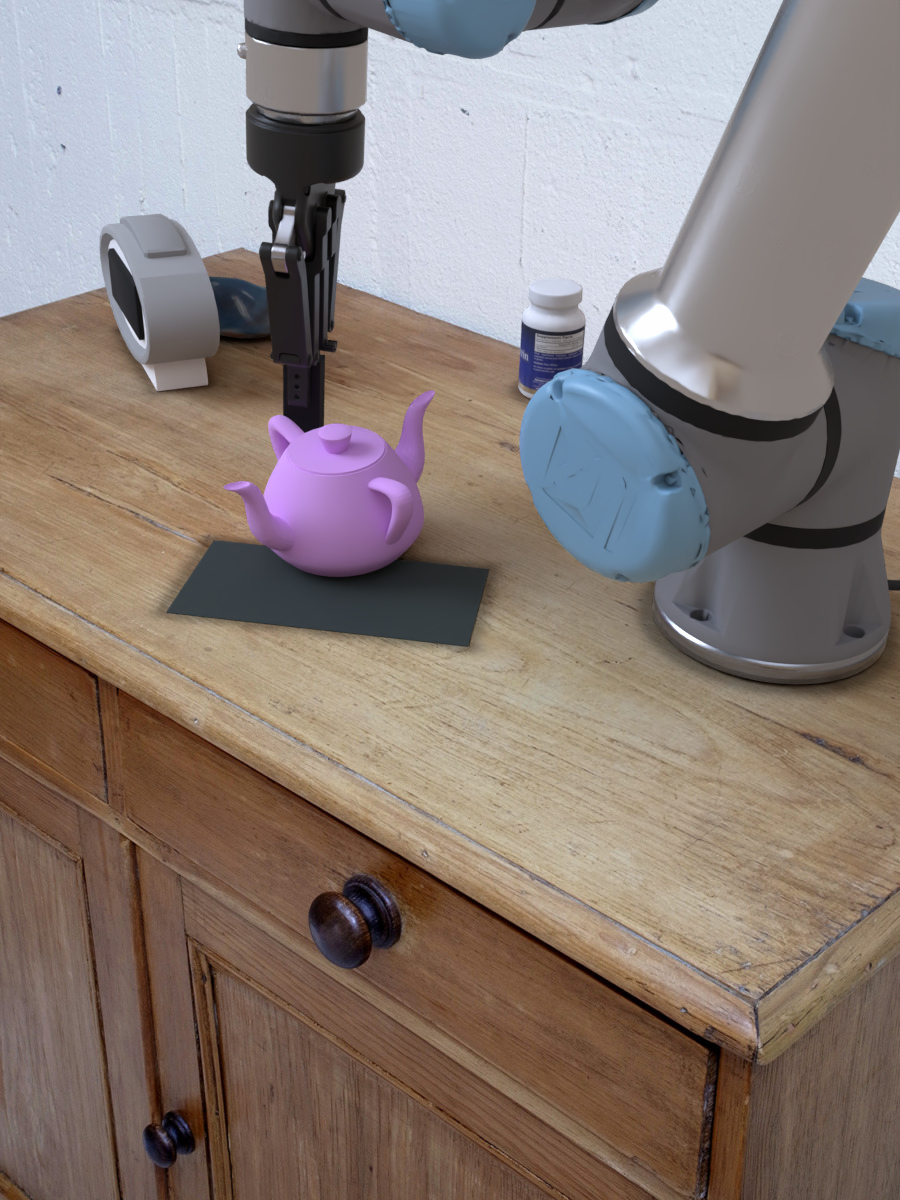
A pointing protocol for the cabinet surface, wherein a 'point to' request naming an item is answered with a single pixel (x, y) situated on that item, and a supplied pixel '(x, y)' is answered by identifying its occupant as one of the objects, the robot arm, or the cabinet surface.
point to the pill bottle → (550, 333)
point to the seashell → (241, 308)
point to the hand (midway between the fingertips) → (303, 437)
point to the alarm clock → (160, 298)
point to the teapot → (340, 495)
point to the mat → (335, 596)
